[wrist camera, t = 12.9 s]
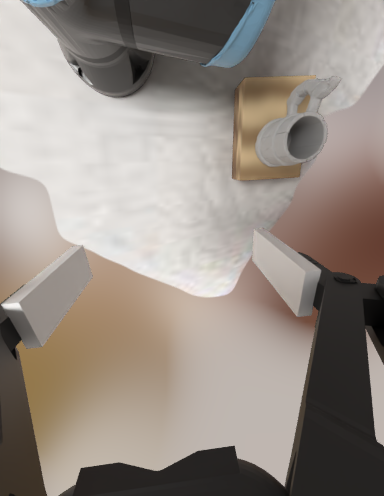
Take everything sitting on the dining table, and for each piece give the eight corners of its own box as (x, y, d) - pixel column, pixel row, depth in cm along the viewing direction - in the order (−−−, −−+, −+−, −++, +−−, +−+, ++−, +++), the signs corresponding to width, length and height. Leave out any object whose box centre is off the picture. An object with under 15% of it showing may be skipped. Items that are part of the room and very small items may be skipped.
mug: (248, 162, 37) (278, 162, 26) (267, 86, 33) (314, 48, 22) (284, 170, 38) (328, 173, 27) (308, 97, 34) (373, 66, 23)
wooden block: (234, 89, 38) (245, 77, 32) (295, 87, 38) (315, 75, 33) (231, 178, 44) (240, 180, 38) (283, 175, 45) (299, 177, 39)
